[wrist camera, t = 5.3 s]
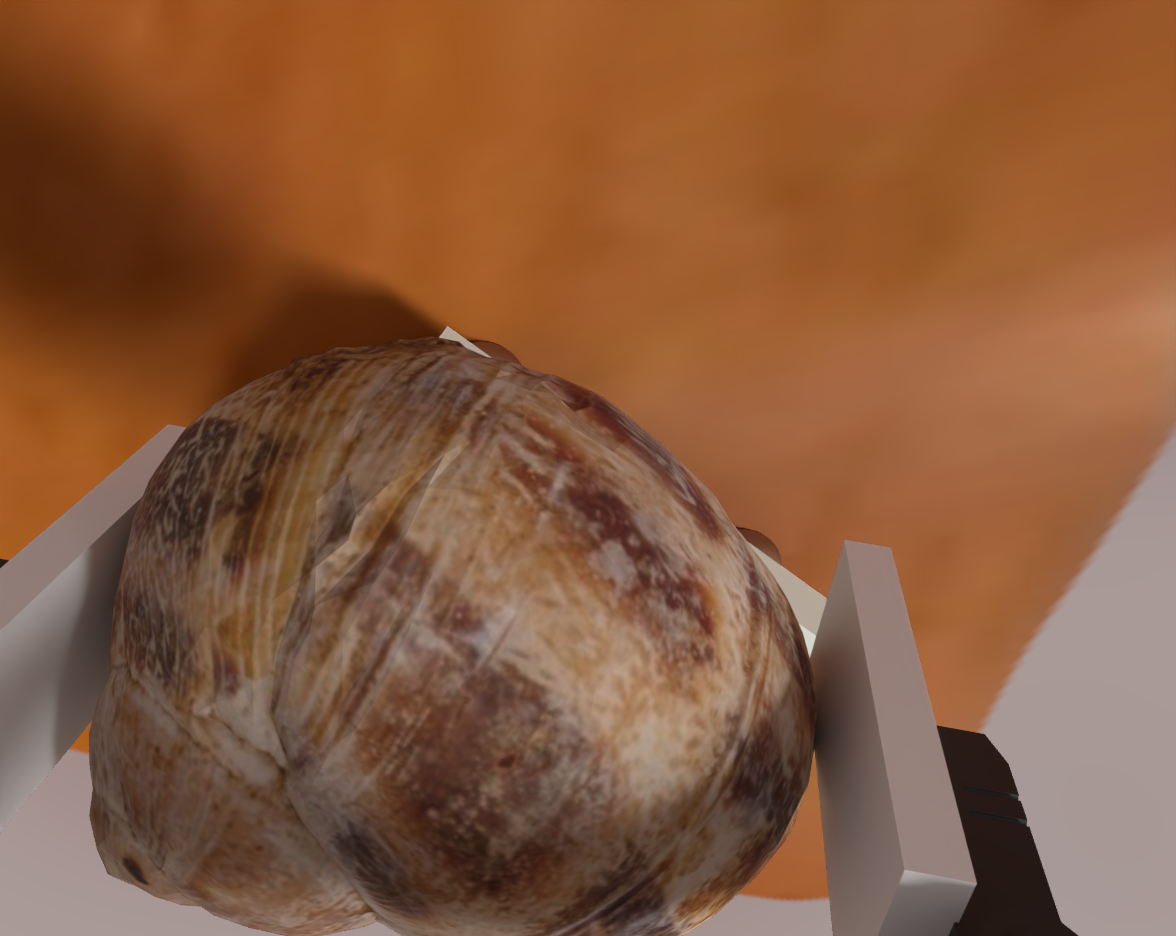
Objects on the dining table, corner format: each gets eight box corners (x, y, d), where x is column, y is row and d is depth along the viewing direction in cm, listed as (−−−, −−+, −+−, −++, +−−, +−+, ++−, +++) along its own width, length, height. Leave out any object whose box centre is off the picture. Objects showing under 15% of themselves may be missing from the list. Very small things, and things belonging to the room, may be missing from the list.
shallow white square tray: (274, 574, 38) (213, 658, 34) (467, 299, 32) (423, 358, 27) (588, 775, 41) (569, 877, 36) (822, 557, 35) (835, 649, 30)
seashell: (263, 818, 21) (-134, 1087, 11) (308, 385, 21) (-30, 255, 11) (775, 882, 19) (869, 1249, 10) (811, 424, 20) (936, 321, 10)
